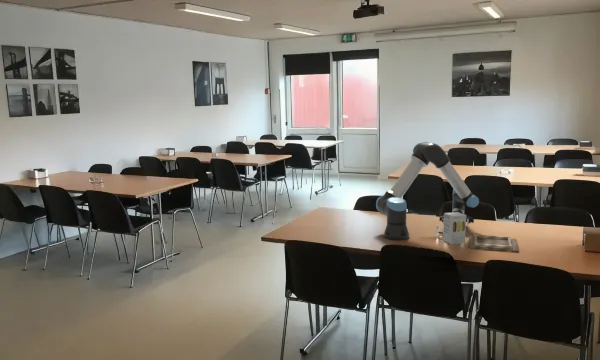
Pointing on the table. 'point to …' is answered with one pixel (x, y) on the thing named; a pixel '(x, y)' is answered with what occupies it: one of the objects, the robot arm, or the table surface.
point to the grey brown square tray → (493, 243)
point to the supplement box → (454, 228)
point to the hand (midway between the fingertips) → (455, 222)
